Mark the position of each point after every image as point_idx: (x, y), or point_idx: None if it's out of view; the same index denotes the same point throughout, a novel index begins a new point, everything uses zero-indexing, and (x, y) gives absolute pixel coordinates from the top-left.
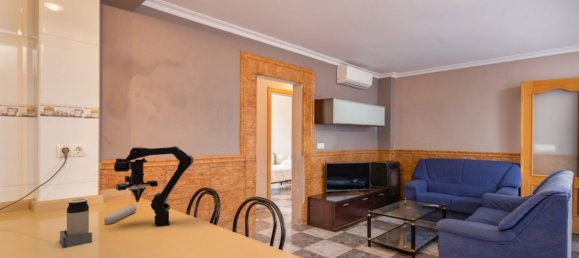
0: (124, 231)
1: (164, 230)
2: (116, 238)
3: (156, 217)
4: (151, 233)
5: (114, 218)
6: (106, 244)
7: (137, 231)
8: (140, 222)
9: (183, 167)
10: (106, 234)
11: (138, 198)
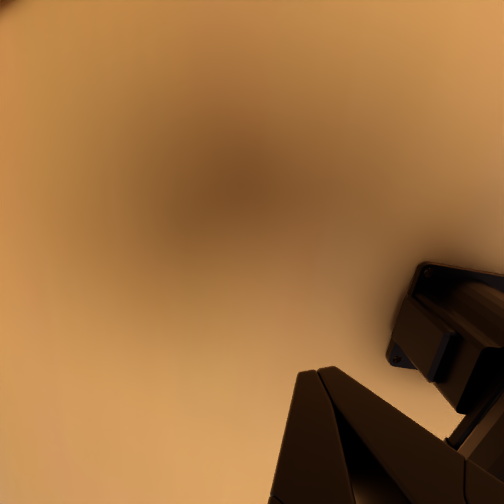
0: (149, 363)
1: None
2: (99, 491)
3: (435, 385)
4: None
5: None
6: None
7: (241, 410)
8: (305, 134)
9: None
10: (13, 374)
11: (360, 501)
